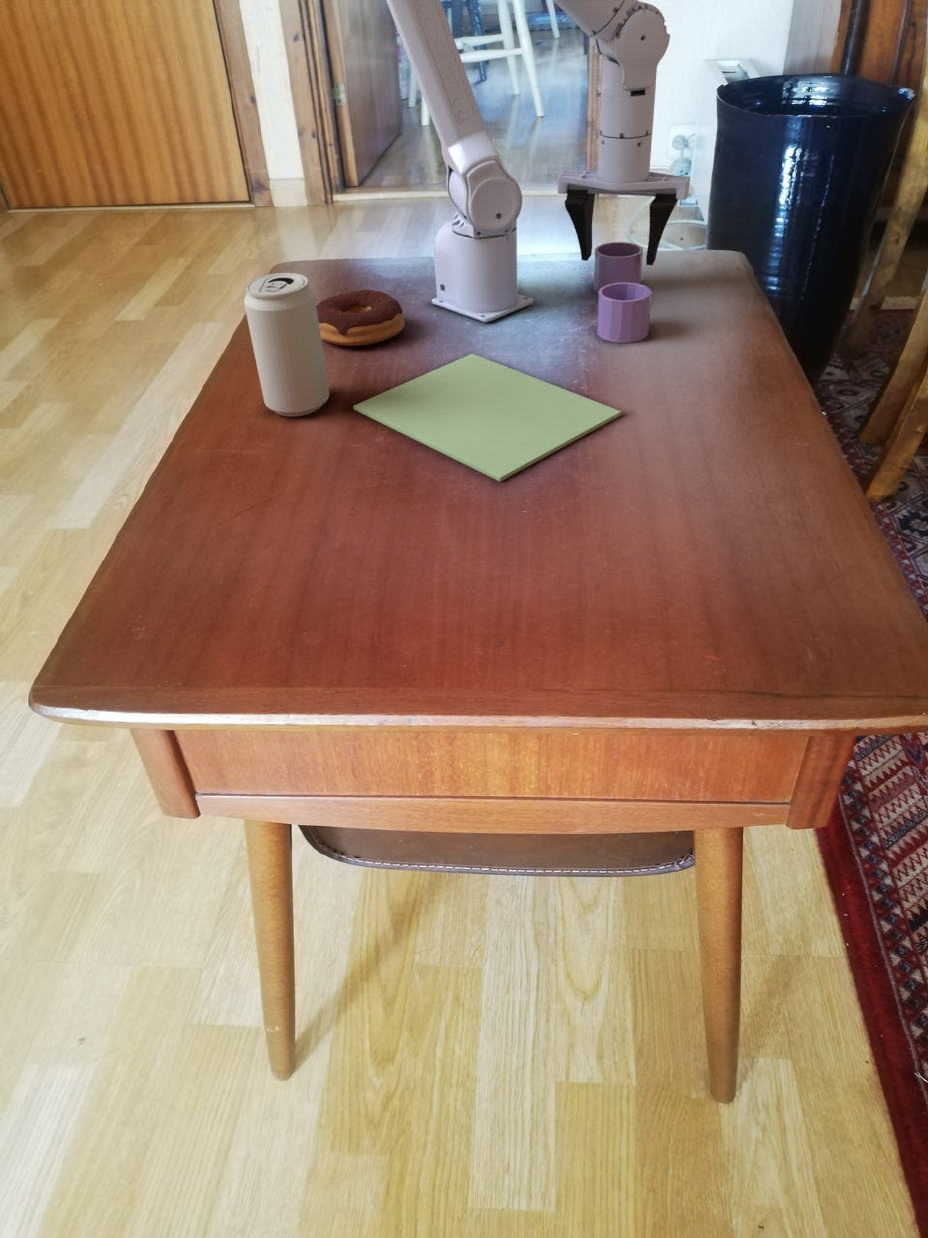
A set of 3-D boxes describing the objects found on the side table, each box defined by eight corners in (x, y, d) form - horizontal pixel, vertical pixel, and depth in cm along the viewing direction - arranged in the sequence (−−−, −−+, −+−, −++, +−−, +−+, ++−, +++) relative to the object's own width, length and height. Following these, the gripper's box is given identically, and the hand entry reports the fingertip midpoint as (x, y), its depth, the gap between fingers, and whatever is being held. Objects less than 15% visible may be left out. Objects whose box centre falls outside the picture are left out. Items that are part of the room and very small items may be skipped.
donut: (400, 313, 108) (397, 278, 105) (409, 346, 100) (406, 310, 98) (314, 322, 107) (308, 287, 105) (316, 356, 100) (311, 320, 97)
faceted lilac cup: (586, 333, 101) (588, 292, 98) (618, 318, 104) (621, 278, 101) (626, 347, 98) (629, 305, 95) (658, 331, 100) (662, 290, 98)
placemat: (353, 409, 89) (353, 405, 89) (472, 356, 98) (472, 353, 97) (500, 481, 78) (499, 477, 78) (621, 415, 86) (621, 411, 86)
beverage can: (341, 393, 92) (324, 272, 85) (312, 423, 88) (291, 297, 80) (284, 387, 94) (262, 267, 86) (253, 415, 89) (227, 292, 82)
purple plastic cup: (584, 289, 111) (585, 250, 108) (613, 276, 114) (615, 238, 111) (619, 299, 108) (622, 260, 105) (649, 286, 111) (652, 248, 108)
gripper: (699, 125, 101) (686, 252, 110) (570, 122, 105) (567, 244, 114) (688, 141, 96) (675, 273, 105) (553, 136, 100) (551, 264, 109)
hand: (618, 259), depth 109 cm, fingers open, 7 cm apart
